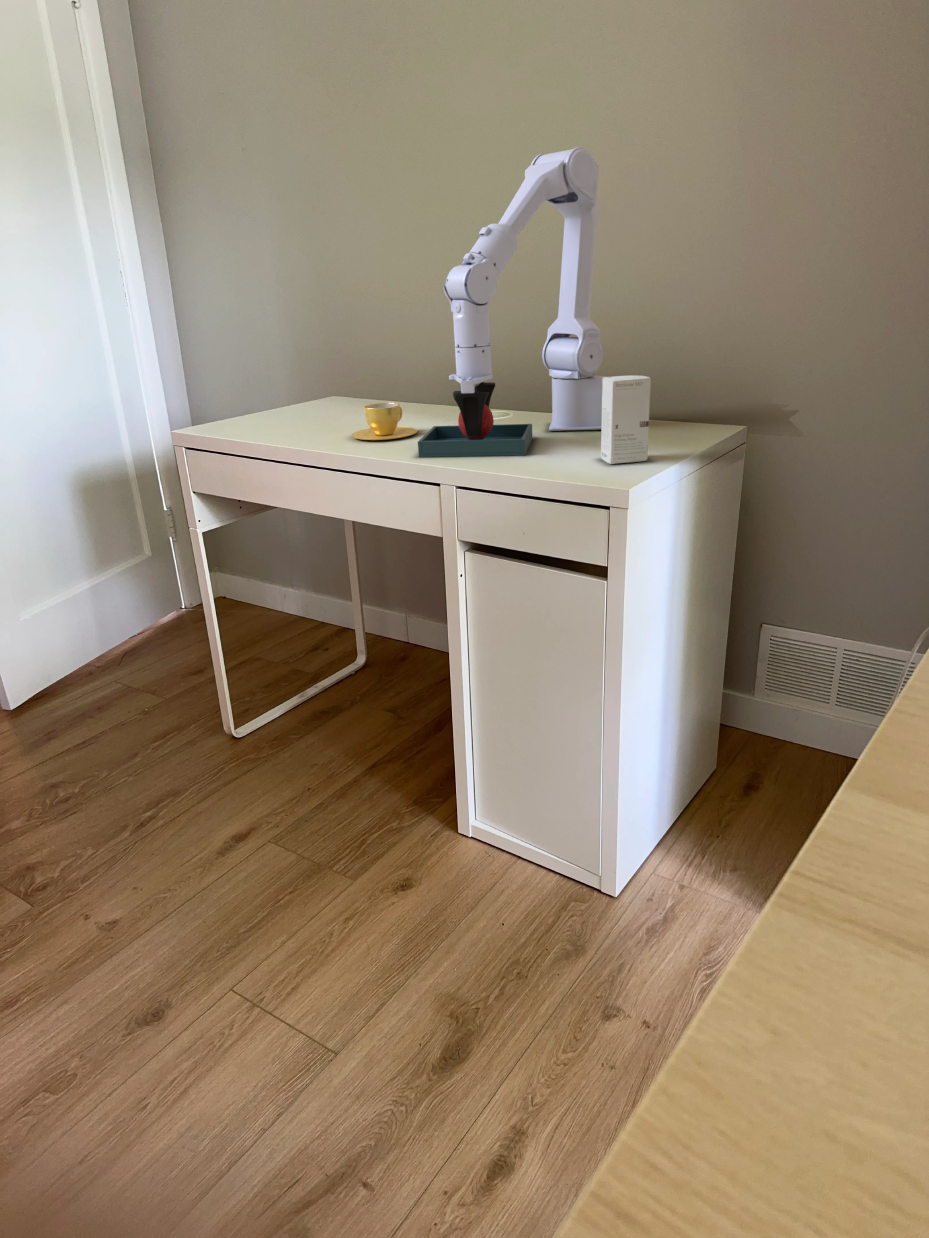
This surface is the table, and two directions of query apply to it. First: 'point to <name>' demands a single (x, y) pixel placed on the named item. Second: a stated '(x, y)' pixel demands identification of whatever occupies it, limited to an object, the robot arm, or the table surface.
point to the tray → (476, 442)
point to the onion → (486, 425)
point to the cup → (383, 423)
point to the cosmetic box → (625, 418)
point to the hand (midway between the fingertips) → (476, 431)
